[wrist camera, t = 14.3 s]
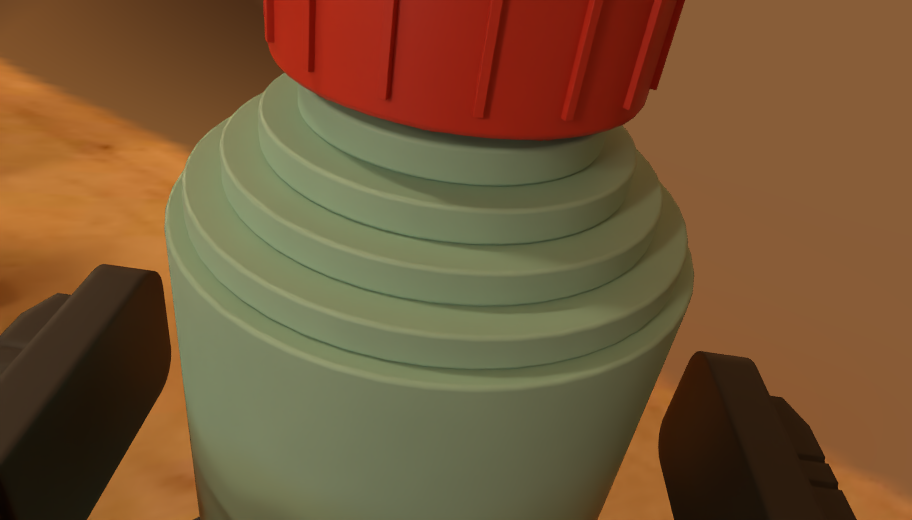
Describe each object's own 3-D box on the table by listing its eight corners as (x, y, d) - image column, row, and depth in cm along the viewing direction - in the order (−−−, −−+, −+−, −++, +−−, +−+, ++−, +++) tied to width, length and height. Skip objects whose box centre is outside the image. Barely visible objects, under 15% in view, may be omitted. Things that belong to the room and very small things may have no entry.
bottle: (190, 679, 16) (10, -361, 6) (402, 556, 19) (534, -240, 9) (304, 979, 12) (392, -472, 2) (543, 761, 16) (1046, -192, 5)
